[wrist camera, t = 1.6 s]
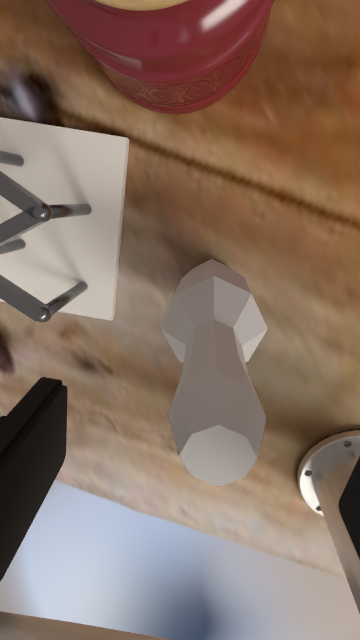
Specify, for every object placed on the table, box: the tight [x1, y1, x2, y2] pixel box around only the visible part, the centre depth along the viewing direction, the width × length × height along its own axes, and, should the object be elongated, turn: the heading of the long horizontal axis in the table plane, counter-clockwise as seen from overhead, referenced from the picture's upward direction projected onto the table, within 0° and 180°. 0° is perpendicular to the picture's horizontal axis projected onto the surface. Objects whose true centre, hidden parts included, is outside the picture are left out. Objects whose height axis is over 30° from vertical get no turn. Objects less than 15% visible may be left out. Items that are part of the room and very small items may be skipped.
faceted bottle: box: [160, 259, 268, 487], centre depth 20 cm, size 6×6×22 cm
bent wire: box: [0, 150, 92, 322], centre depth 25 cm, size 7×11×9 cm, turn 171°
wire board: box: [0, 117, 129, 321], centre depth 29 cm, size 12×16×1 cm
